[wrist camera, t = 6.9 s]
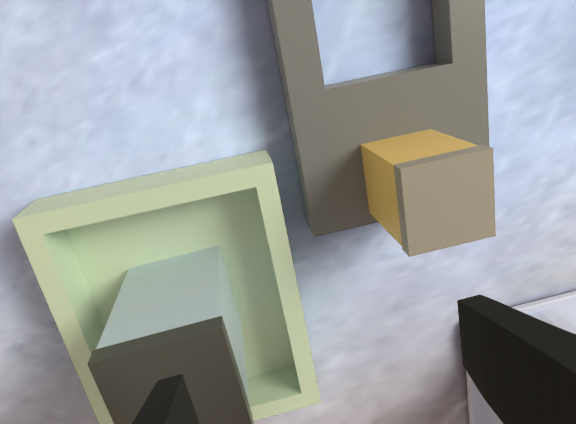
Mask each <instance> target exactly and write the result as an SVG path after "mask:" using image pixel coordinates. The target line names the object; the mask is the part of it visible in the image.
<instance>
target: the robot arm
mask: <svg viewBox="0 0 576 424" xmlns="http://www.w3.org/2000/svg"><path fill="white" fill-rule="evenodd" d="M458 313H459V324H460V336H461V347H462V359H463V366H464V367H465V369H466V377H467V394H468V410H469V424H576V291H573V292H569V293H565V294H561V295H557V296H553V297H549V298H545V299H541V300H537V301H533V302H529V303H525V304H522V305H518V306H514V307H509V306H507V305H504V304H502V303H500V302H497V301H495V300H493V299H490V298H488V297H485V296H482V295H477V296H473V297H469V298H465V299H462V300H458ZM132 424H200V423H199V420H198V417H197V415H196V412H195V409H194V406H193V403H192V400H191V398H190V395H189V392H188V389H187V386H186V383H185V381H184V378H183V375H182V374H180V375H176V376H172V377H169V378H165V379H161V380H158V381H157V383H156V384H155V386H154V387H153V389H152V390H151V392H150V394H149V395H148V397H147V399H146V400H145V402H144V404H143V406H142V407H141V409H140V411H139V412H138V414H137V416H136V417H135V419H134V421H133V422H132Z"/></svg>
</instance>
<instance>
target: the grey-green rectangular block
mask: <svg viewBox="0 0 576 424" xmlns="http://www.w3.org/2000/svg"><path fill="white" fill-rule="evenodd" d="M87 365H88V367H89V369H90V371H91V374H92V376H93V378H94V380H95V383H96V385H97V387H98V389H99V392H100V394H101V396H102V398H103V400H104V403H105V405H106V407H107V409H108V412H109V414H110V416H111V418H112V421H113V423H114V424H132V422H133V421H134V419H135V417H136V416H137V414H138V412H139V411H140V409H141V407H142V406H143V404H144V402H145V400H146V399H147V397H148V395H149V394H150V392H151V390H152V389H153V387H154V386H155V384H156V383H157V381H158V380H161V379H165V378H169V377H172V376H176V375H180V374H182V375H183V378H184V381H185V383H186V386H187V389H188V392H189V395H190V398H191V400H192V403H193V406H194V409H195V412H196V415H197V417H198V420H199V423H200V424H253V417H252V412H251V409H250V404H249V393H248V383H247V373H246V363H245V352H244V342H243V332H242V322H241V318H240V315H239V311H238V308H237V304H236V301H235V297H234V294H233V290H232V287H231V283H230V280H229V277H228V273H227V270H226V266H225V263H224V259H223V256H222V252H221V249H220V246H219V245H218V246H214V247H211V248H207V249H203V250H199V251H195V252H191V253H187V254H183V255H179V256H175V257H171V258H167V259H163V260H160V261H156V262H152V263H148V264H144V265H140V266H136V267H132V268H129V269H128V272H127V274H126V277H125V279H124V282H123V284H122V286H121V289H120V291H119V294H118V296H117V299H116V301H115V304H114V306H113V309H112V311H111V314H110V316H109V319H108V321H107V323H106V326H105V328H104V331H103V333H102V336H101V338H100V341H99V343H98V346H97V348H96V349H95V350H93V352H92V354H91V357H90V359H89V361H88V364H87Z"/></svg>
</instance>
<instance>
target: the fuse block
mask: <svg viewBox="0 0 576 424" xmlns="http://www.w3.org/2000/svg"><path fill="white" fill-rule="evenodd" d="M431 2H432V17H433V31H434V46H435V60H436V63H431V64H426V65H422V66H417V67H412V68H407V69H402V70H397V71H393V72H388V73H383V74H378V75H373V76H369V77H364V78H359V79H354V80H349V81H344V82H340V83H335V84H330V85H325V86H324V80H323V73H322V67H321V60H320V54H319V47H318V41H317V34H316V27H315V21H314V14H313V8H312V1H311V0H267V4H268V9H269V15H270V20H271V26H272V31H273V36H274V42H275V47H276V53H277V58H278V64H279V69H280V75H281V80H282V85H283V91H284V96H285V102H286V107H287V113H288V118H289V124H290V129H291V134H292V140H293V145H294V151H295V156H296V162H297V167H298V173H299V178H300V183H301V189H302V194H303V200H304V205H305V211H306V216H307V222H308V225H309V227H310V229H311V231H312V233H313V234H314V236H320V235H324V234H328V233H333V232H337V231H341V230H345V229H350V228H354V227H358V226H362V225H367V224H371V223H375V222H379V223H380V224H381V225H382V226H383V227H384V228H385V229H386V230H387V231H388V232H389V233H390V234H391V235H392V236H393V237H394V238H395V239H396V241H397V242H398V243H399V244H400V245H401V246H402V249H403V251H404V252H405V253H406V254H407V255H408V256H409V257H410V256H414V255H418V254H422V253H427V252H431V251H435V250H439V249H443V248H447V247H451V246H456V245H460V244H464V243H468V242H472V241H476V240H481V239H485V238H489V237H493V236H496V234H495V199H494V165H493V148H491V147H489V125H488V94H487V63H486V31H485V0H431Z"/></svg>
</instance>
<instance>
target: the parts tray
mask: <svg viewBox="0 0 576 424" xmlns="http://www.w3.org/2000/svg"><path fill="white" fill-rule="evenodd" d="M12 221H13V224H14V226H15V228H16V231H17V233H18V235H19V238H20V240H21V242H22V245H23V247H24V249H25V252H26V254H27V256H28V259H29V261H30V263H31V266H32V268H33V271H34V273H35V275H36V278H37V280H38V282H39V285H40V287H41V289H42V292H43V294H44V296H45V299H46V301H47V303H48V306H49V308H50V310H51V313H52V315H53V317H54V320H55V322H56V324H57V327H58V329H59V331H60V334H61V336H62V338H63V341H64V343H65V346H66V348H67V350H68V353H69V355H70V357H71V360H72V362H73V364H74V367H75V369H76V371H77V374H78V376H79V378H80V381H81V383H82V385H83V388H84V390H85V392H86V395H87V397H88V399H89V402H90V404H91V406H92V409H93V411H94V414H95V416H96V418H97V421H98V423H99V424H114V423H113V421H112V418H111V416H110V414H109V412H108V409H107V407H106V405H105V403H104V400H103V398H102V396H101V394H100V392H99V389H98V387H97V385H96V383H95V380H94V378H93V376H92V374H91V371H90V369H89V367H88V365H87V364H88V361H89V359H90V357H91V354H92V352H93V350H95V349H96V348H97V346H98V343H99V341H100V338H101V336H102V333H103V331H104V328H105V326H106V323H107V321H108V319H109V316H110V314H111V311H112V309H113V306H114V304H115V301H116V299H117V296H118V294H119V291H120V289H121V286H122V284H123V282H124V279H125V277H126V274H127V272H128V269H129V268H132V267H136V266H140V265H144V264H148V263H152V262H156V261H160V260H163V259H167V258H171V257H175V256H179V255H183V254H187V253H191V252H195V251H199V250H203V249H207V248H211V247H214V246H218V245H219V246H220V249H221V252H222V256H223V259H224V263H225V266H226V270H227V273H228V277H229V280H230V283H231V287H232V290H233V294H234V297H235V301H236V304H237V308H238V311H239V315H240V318H241V322H242V332H243V342H244V352H245V363H246V373H247V383H248V393H249V404H250V409H251V412H252V417H253V421H254V420H258V419H262V418H266V417H269V416H273V415H277V414H281V413H285V412H288V411H292V410H296V409H300V408H304V407H307V406H311V405H315V404H319V403H321V399H320V394H319V389H318V384H317V379H316V374H315V369H314V364H313V359H312V354H311V349H310V344H309V339H308V334H307V329H306V325H305V320H304V315H303V310H302V305H301V300H300V295H299V290H298V285H297V280H296V275H295V270H294V265H293V260H292V255H291V250H290V245H289V241H288V236H287V231H286V226H285V221H284V216H283V211H282V206H281V201H280V196H279V191H278V186H277V181H276V176H275V171H274V166H273V162H272V160H271V158H270V156H269V155H268V153H267V151H266V150H261V151H256V152H252V153H247V154H243V155H238V156H233V157H229V158H224V159H219V160H215V161H210V162H206V163H201V164H196V165H192V166H187V167H182V168H178V169H173V170H169V171H164V172H159V173H155V174H150V175H146V176H141V177H136V178H132V179H127V180H122V181H118V182H113V183H109V184H104V185H99V186H95V187H90V188H85V189H81V190H76V191H72V192H67V193H62V194H58V195H53V196H48V197H44V198H39V199H36V200H35V201H34V202H33V203H31V204H30V205H29V206H28V207H27V208H25V209H24V210H23V211H22V212H20V213H19V214H18V215H17V216H15V217H14V218H13V219H12Z"/></svg>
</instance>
